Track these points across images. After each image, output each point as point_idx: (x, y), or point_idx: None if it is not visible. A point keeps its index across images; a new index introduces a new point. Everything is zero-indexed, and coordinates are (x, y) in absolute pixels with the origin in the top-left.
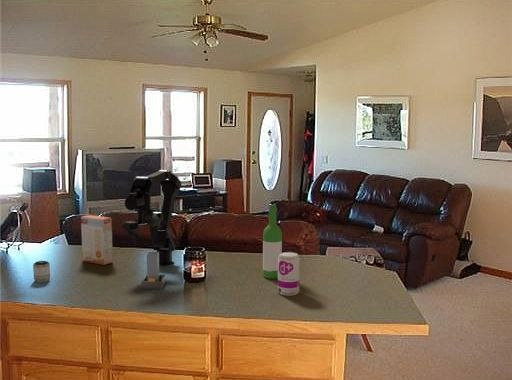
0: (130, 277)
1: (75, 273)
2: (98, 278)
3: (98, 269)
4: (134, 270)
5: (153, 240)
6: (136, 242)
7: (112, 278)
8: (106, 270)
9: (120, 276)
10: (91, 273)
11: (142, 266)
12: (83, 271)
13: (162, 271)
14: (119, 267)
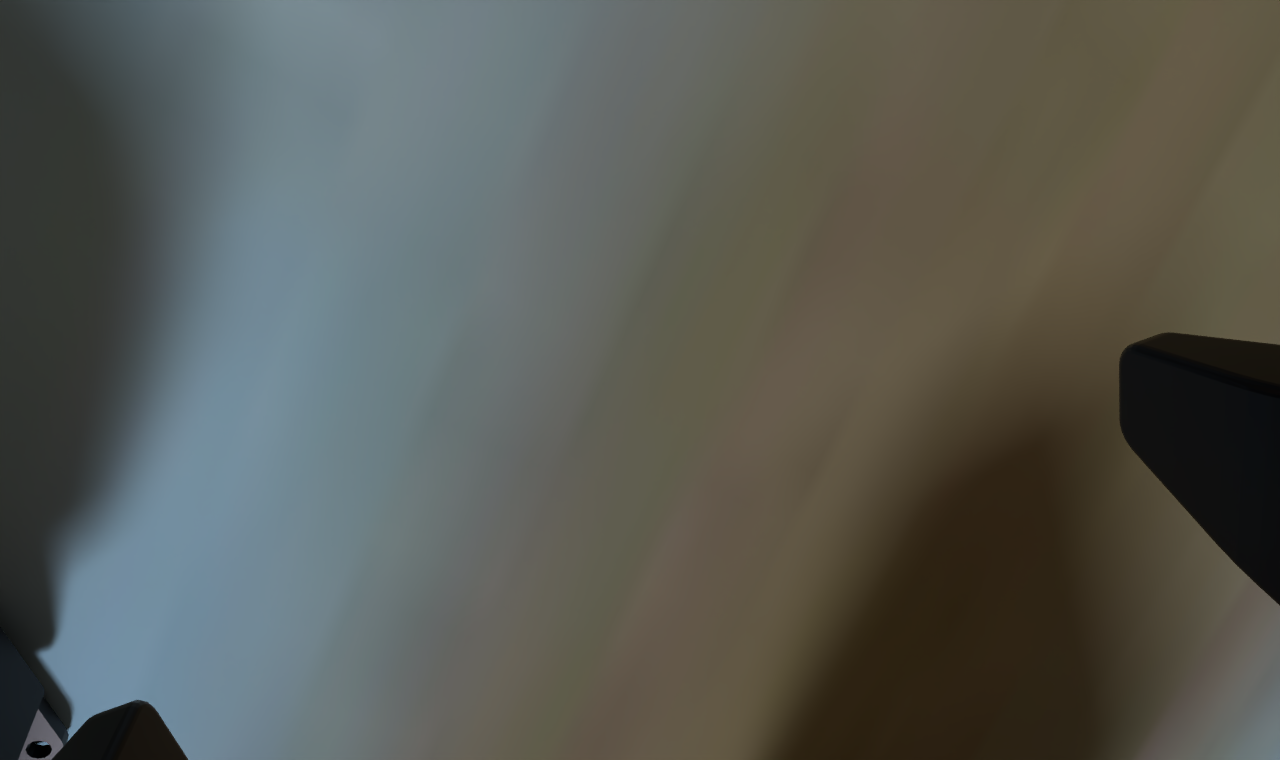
0: (843, 78)
1: (1246, 654)
2: (1212, 308)
3: (971, 719)
4: (583, 474)
5: (135, 735)
6: (1275, 360)
7: (1084, 195)
8: (920, 640)
9: (937, 240)
10: (1130, 582)
11: (357, 646)
12: (1141, 699)
13: (77, 131)
14: (705, 716)
